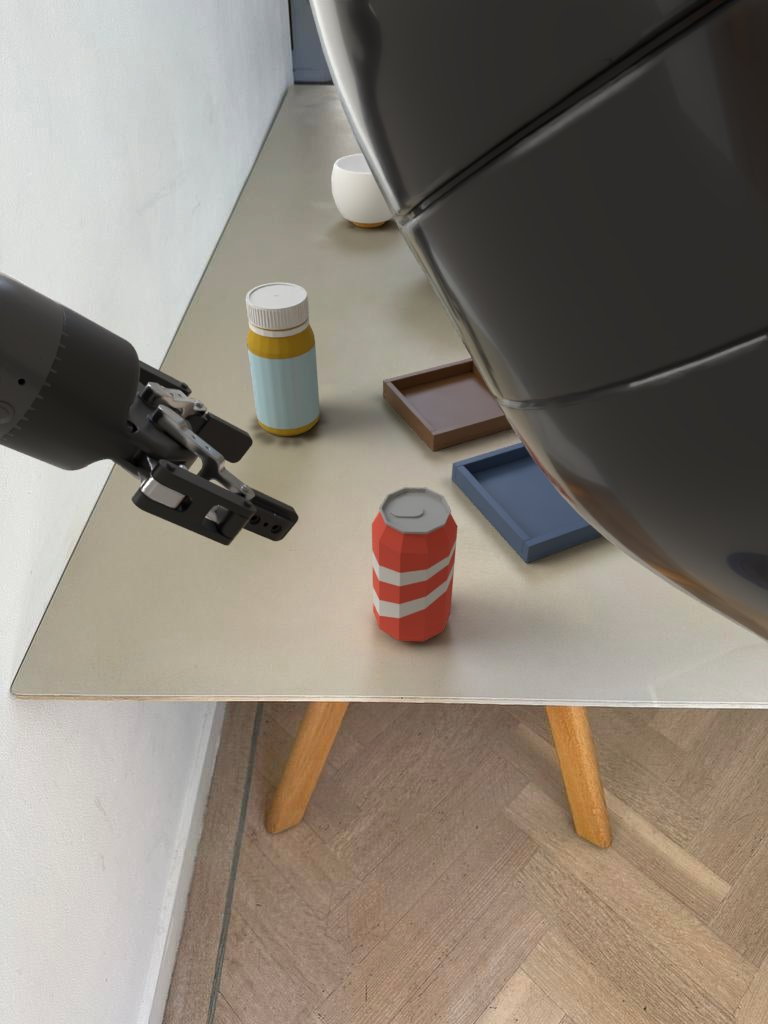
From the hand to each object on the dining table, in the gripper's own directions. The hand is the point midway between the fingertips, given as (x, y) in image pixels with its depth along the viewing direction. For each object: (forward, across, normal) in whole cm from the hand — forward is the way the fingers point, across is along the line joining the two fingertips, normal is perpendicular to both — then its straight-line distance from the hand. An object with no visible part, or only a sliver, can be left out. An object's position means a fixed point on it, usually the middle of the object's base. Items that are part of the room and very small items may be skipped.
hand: (264, 485), depth 48 cm
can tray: (+34, +8, -8) cm, 36 cm away
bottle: (+21, +32, +4) cm, 39 cm away
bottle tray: (+34, +26, -8) cm, 44 cm away
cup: (+45, +84, -20) cm, 97 cm away
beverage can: (+21, 0, +5) cm, 21 cm away
